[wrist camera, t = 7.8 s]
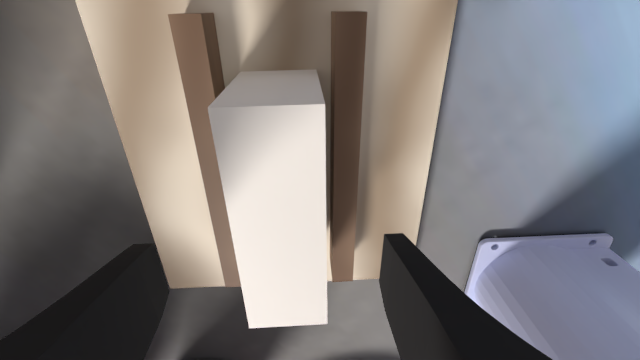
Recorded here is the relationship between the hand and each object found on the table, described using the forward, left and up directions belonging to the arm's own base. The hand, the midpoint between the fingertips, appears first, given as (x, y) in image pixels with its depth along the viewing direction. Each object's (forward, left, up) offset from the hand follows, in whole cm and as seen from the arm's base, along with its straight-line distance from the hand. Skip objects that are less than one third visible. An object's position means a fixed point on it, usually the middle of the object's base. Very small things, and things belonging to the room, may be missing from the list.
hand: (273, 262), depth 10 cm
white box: (0, 0, -8) cm, 8 cm away
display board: (0, 0, -9) cm, 9 cm away
